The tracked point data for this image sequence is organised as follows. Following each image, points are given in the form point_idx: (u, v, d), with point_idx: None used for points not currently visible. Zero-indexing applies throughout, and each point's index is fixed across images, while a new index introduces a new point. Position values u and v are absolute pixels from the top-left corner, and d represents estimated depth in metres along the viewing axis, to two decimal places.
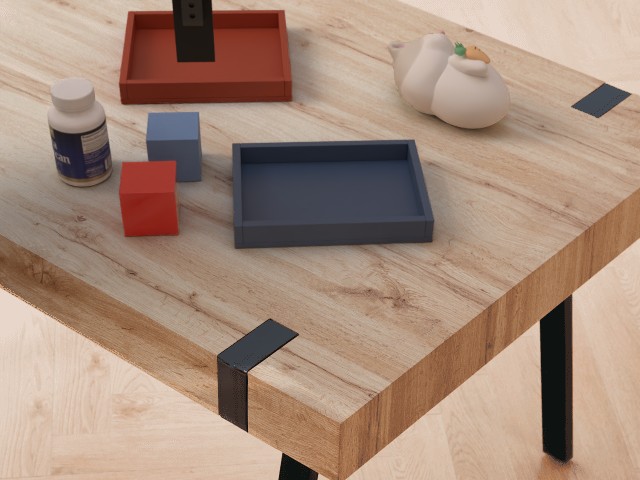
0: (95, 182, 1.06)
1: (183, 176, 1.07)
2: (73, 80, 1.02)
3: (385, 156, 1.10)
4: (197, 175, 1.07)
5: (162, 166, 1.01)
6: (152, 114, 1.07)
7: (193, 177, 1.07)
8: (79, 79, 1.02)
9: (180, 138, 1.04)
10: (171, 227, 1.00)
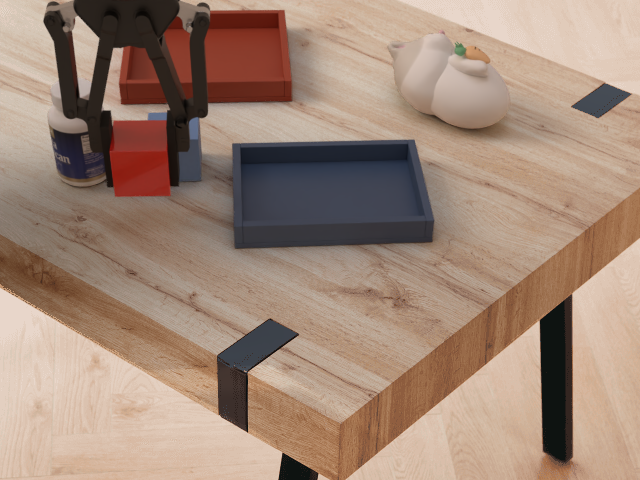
0: (95, 182, 1.06)
1: (183, 176, 1.07)
2: None
3: (385, 156, 1.10)
4: (197, 175, 1.07)
5: (155, 125, 0.98)
6: (152, 114, 1.07)
7: (193, 177, 1.07)
8: (79, 79, 1.02)
9: None
10: (163, 188, 0.97)
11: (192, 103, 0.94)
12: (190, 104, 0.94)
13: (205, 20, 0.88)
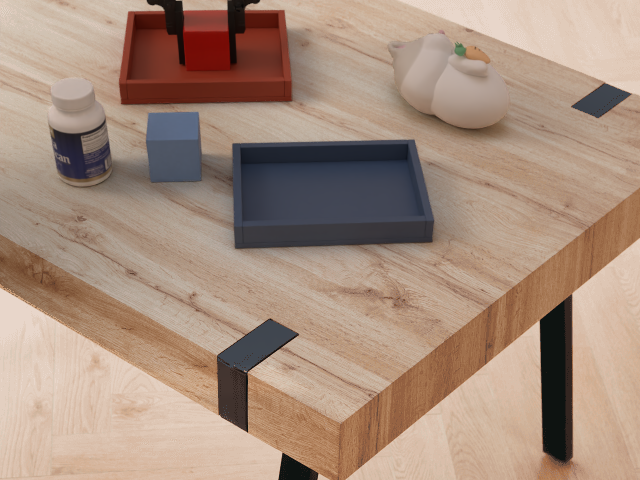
0: (95, 182, 1.06)
1: (183, 176, 1.07)
2: (73, 80, 1.02)
3: (385, 156, 1.10)
4: (197, 175, 1.07)
5: (217, 13, 1.22)
6: (152, 114, 1.07)
7: (193, 177, 1.07)
8: (79, 79, 1.02)
9: (180, 138, 1.04)
10: (224, 63, 1.22)
11: None
12: None
13: None
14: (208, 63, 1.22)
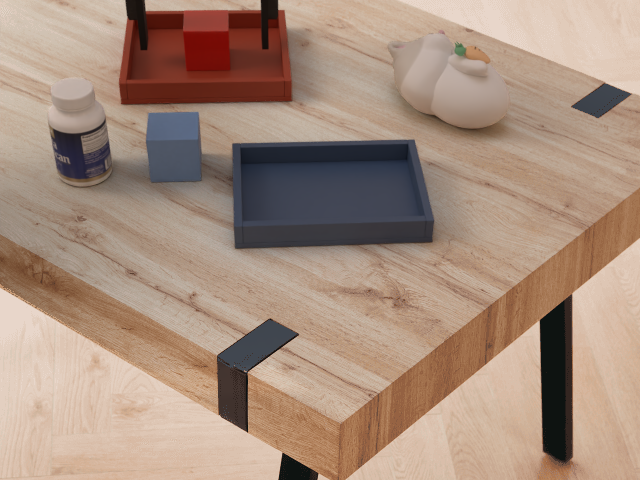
0: (95, 182, 1.06)
1: (183, 176, 1.07)
2: (73, 80, 1.02)
3: (385, 156, 1.10)
4: (197, 175, 1.07)
5: (217, 13, 1.22)
6: (152, 114, 1.07)
7: (193, 177, 1.07)
8: (79, 79, 1.02)
9: (180, 138, 1.04)
10: (224, 63, 1.22)
11: None
12: None
13: None
14: (208, 63, 1.22)
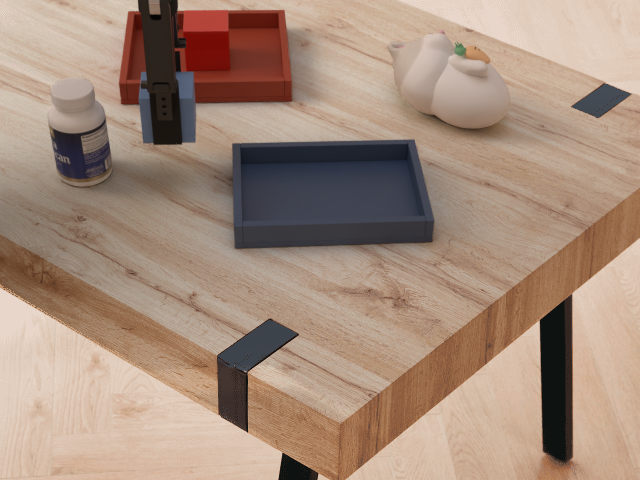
0: (95, 182, 1.06)
1: None
2: (73, 80, 1.02)
3: (385, 156, 1.10)
4: (191, 136, 1.04)
5: (217, 13, 1.22)
6: (145, 73, 1.04)
7: (187, 138, 1.04)
8: (79, 79, 1.02)
9: None
10: (224, 63, 1.22)
11: None
12: None
13: None
14: (208, 63, 1.22)
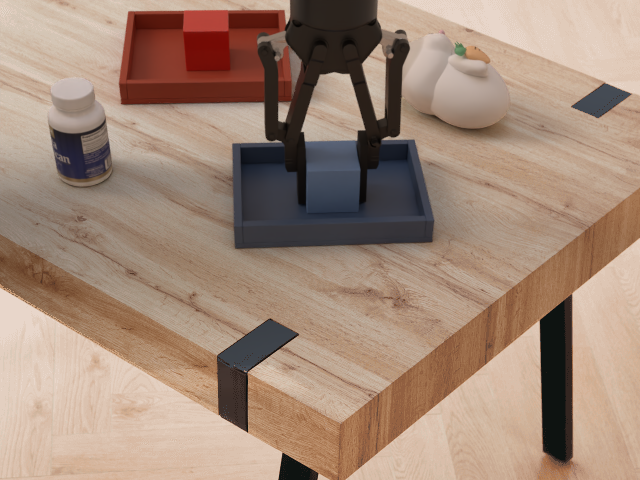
0: (95, 182, 1.06)
1: None
2: (73, 80, 1.02)
3: (385, 156, 1.10)
4: (306, 205, 1.03)
5: (217, 13, 1.22)
6: (351, 142, 1.04)
7: (306, 205, 1.04)
8: (79, 79, 1.02)
9: (308, 160, 1.01)
10: (224, 63, 1.22)
11: (384, 123, 1.00)
12: (383, 124, 1.00)
13: (406, 46, 0.94)
14: (208, 63, 1.22)
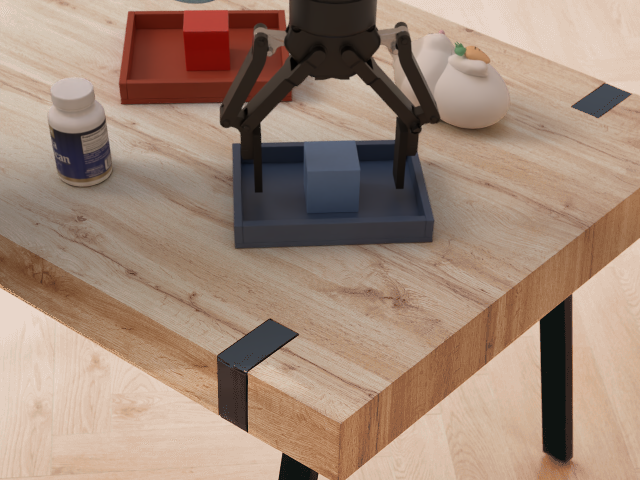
0: (95, 182, 1.06)
1: (305, 197, 1.04)
2: (73, 80, 1.02)
3: (385, 156, 1.10)
4: (306, 205, 1.03)
5: (217, 13, 1.22)
6: (351, 142, 1.04)
7: (306, 205, 1.04)
8: (79, 79, 1.02)
9: (308, 160, 1.01)
10: (224, 63, 1.22)
11: None
12: (423, 110, 1.00)
13: (406, 38, 0.94)
14: (208, 63, 1.22)
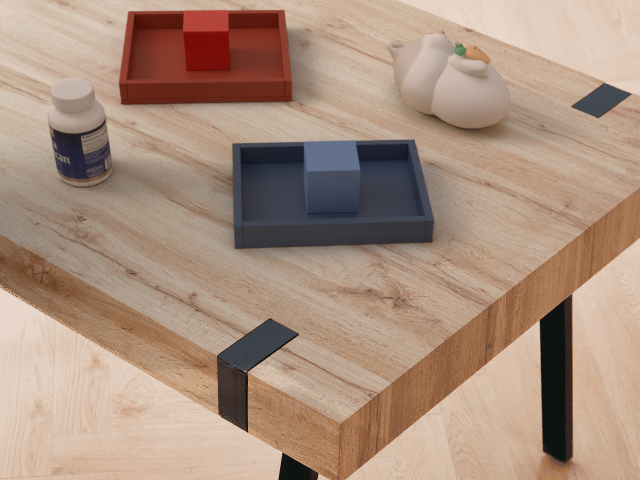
0: (95, 182, 1.06)
1: (305, 197, 1.04)
2: (73, 80, 1.02)
3: (385, 156, 1.10)
4: (306, 205, 1.03)
5: (217, 13, 1.22)
6: (351, 142, 1.04)
7: (306, 205, 1.04)
8: (79, 79, 1.02)
9: (308, 160, 1.01)
10: (224, 63, 1.22)
11: None
12: None
13: None
14: (208, 63, 1.22)
